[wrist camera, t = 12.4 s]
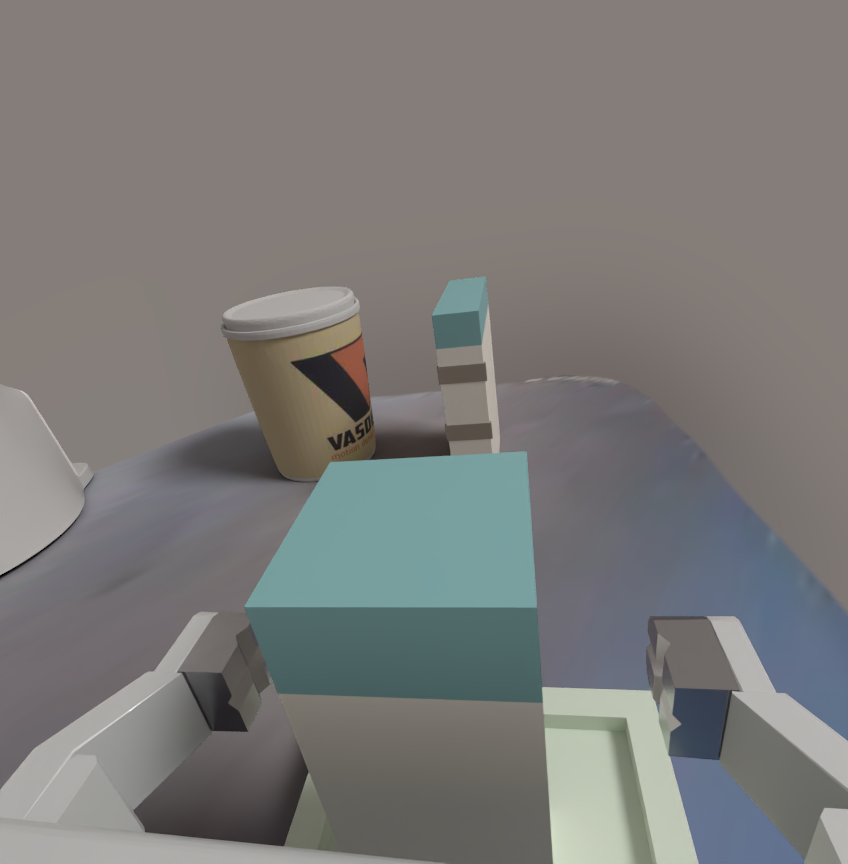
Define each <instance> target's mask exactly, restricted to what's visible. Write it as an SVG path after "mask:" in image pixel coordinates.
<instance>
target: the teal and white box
mask: <svg viewBox="0 0 848 864" xmlns="http://www.w3.org/2000/svg"><path fill="white" fill-rule="evenodd" d="M432 322H433V329H434V336H435V344H436V351H437V357H438V364H439V365H438V366H437V372H438V379H439V385H441V387H442V395H443V402H444V409H445V417H446V424H445V430H446V437H447V441H449V446H450V453H451V456H452V455H471V454H489V453H499V445H500V432H499V420H498V409H497V398H496V386H495V376H494V363H493V353H492V341H491V329H490V319H489V307H488V296H487V284H486V277H477V278H468V279H460V280H453V281H449V283H448V285H447V287H446V289H445V291H444V293H443V295H442V297H441V298H440V300H439V303H438V304H437V306H436V308H435V310H434V312H433V314H432Z"/></svg>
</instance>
